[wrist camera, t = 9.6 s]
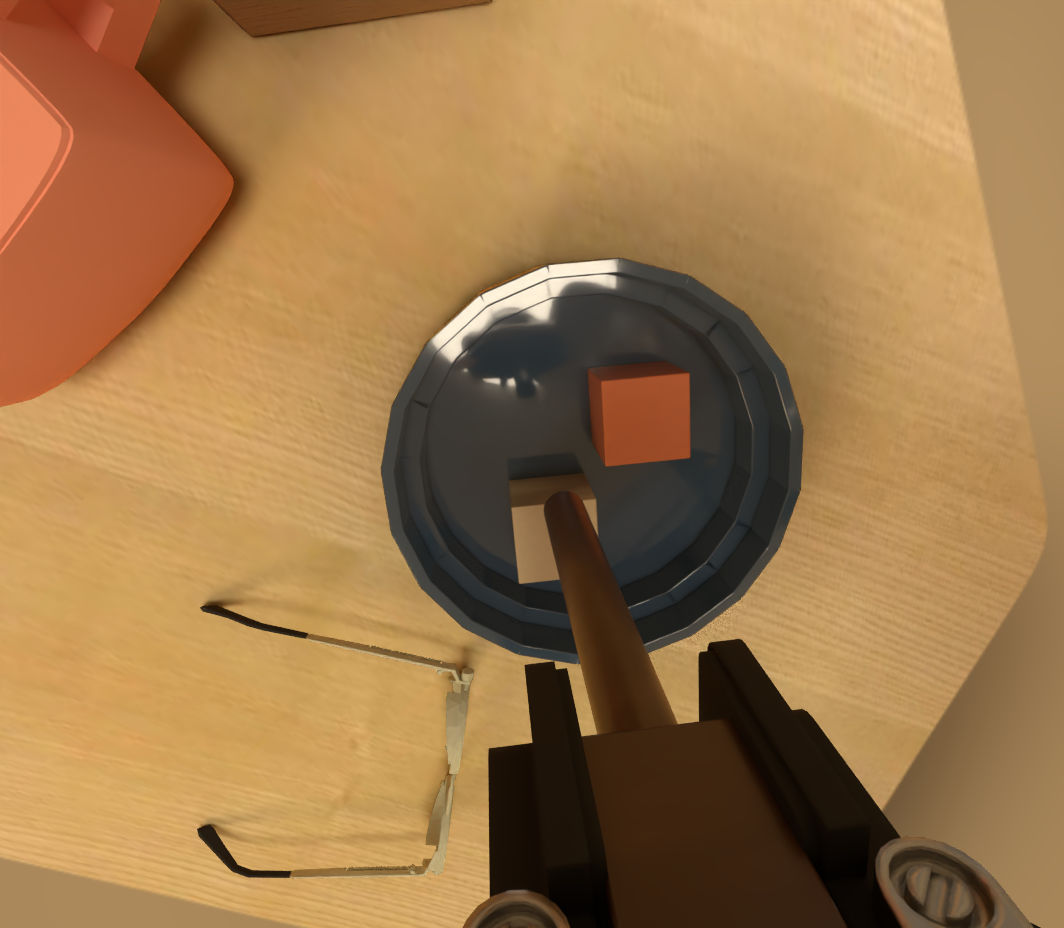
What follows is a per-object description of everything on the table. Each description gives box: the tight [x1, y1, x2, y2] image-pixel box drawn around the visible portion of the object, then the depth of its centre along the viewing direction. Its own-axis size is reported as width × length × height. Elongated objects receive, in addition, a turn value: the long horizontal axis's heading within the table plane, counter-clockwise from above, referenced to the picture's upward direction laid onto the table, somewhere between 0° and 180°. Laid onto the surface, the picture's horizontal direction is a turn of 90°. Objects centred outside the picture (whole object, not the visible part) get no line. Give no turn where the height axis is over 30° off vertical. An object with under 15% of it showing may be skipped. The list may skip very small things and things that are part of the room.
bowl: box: [381, 258, 804, 664], centre depth 31 cm, size 19×19×5 cm
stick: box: [544, 491, 848, 928], centre depth 14 cm, size 2×2×16 cm
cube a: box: [588, 361, 691, 466], centre depth 30 cm, size 4×4×4 cm
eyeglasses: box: [197, 605, 474, 879], centre depth 35 cm, size 17×15×5 cm
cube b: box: [509, 473, 598, 584], centre depth 32 cm, size 4×4×4 cm
